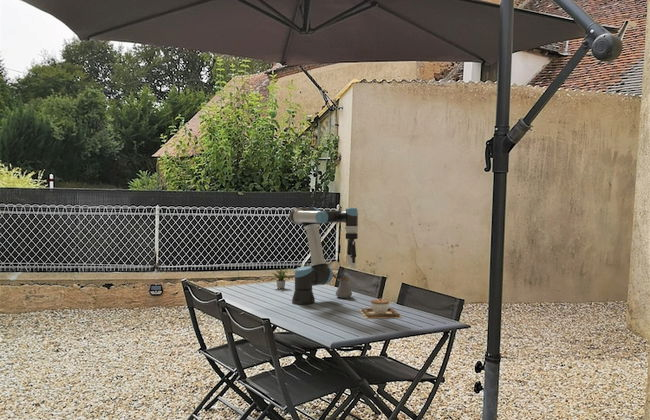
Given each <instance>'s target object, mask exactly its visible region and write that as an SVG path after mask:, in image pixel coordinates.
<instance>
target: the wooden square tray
mask: <svg viewBox="0 0 650 420" xmlns="http://www.w3.org/2000/svg"><path fill="white" fill-rule="evenodd" d="M358 312H359V313H360V314H361V315H362V316H363V318H365V320H368V319H371V320H373V319H402V318H403V316H402V315H401V314H400V313H398V311H397V310H395V308H393V307H389V308H388V311H387V312H386V313H385V314H375V313H374V312H373V310H372V307H368V308H367V307H365V308H361V309H360V310H358Z"/></svg>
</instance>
